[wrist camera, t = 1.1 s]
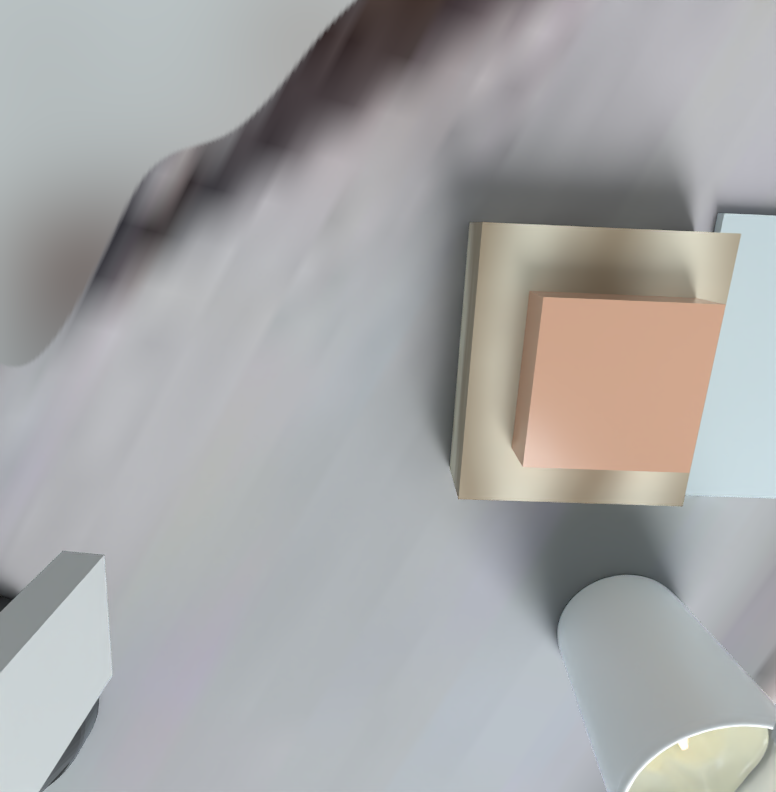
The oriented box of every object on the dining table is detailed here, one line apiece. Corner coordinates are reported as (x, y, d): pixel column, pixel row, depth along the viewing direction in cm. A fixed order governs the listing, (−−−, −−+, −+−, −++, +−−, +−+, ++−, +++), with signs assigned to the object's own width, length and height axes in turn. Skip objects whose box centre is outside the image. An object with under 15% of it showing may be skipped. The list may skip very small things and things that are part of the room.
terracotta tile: (511, 448, 29) (522, 467, 27) (529, 290, 27) (543, 296, 24) (665, 453, 29) (689, 472, 27) (696, 297, 27) (725, 304, 24)
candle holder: (601, 537, 35) (708, 689, 24) (724, 601, 37) (881, 774, 25) (515, 651, 38) (574, 839, 26) (634, 707, 39) (740, 908, 28)
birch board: (449, 467, 34) (458, 498, 30) (469, 222, 30) (482, 222, 26) (648, 474, 34) (682, 506, 30) (695, 232, 30) (741, 233, 26)
